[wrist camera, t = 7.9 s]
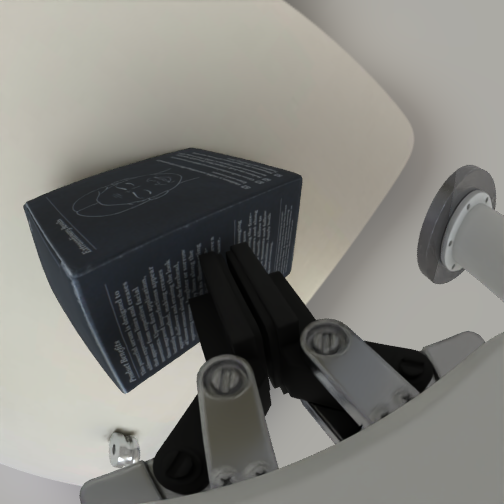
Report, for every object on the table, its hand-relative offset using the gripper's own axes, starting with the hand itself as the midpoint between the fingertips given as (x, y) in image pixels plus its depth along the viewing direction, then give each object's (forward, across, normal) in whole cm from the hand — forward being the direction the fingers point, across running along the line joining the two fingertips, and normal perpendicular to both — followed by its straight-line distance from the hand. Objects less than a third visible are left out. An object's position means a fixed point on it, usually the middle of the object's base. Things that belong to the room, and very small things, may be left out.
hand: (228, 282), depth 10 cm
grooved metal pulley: (+10, +17, +29) cm, 35 cm away
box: (+7, -3, 0) cm, 7 cm away
